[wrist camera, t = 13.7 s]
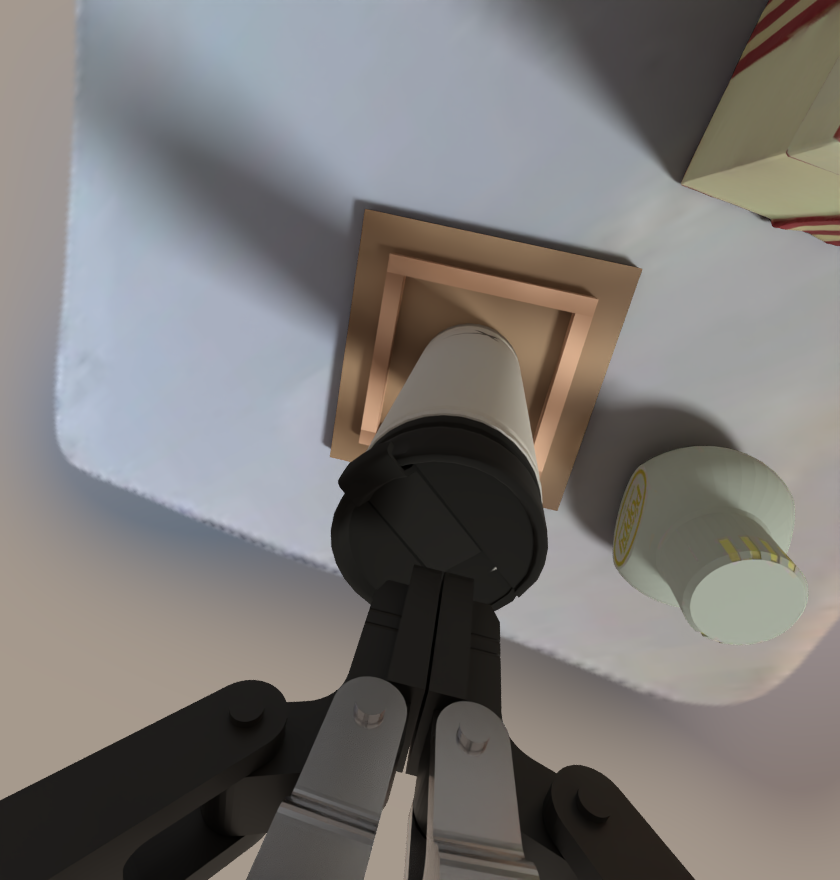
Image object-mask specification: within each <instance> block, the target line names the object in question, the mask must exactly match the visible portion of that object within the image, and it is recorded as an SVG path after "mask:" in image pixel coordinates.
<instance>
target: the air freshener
mask: <svg viewBox="0 0 840 880" xmlns="http://www.w3.org/2000/svg"><path fill="white" fill-rule="evenodd" d="M794 521H795V506H794V501H793V498H792V495H791V493H790V492H789V490H788V488H787V486H786V485H785V483H784V482H783V481H782V480H781V479H780V477H779V476H778V475H777V474H776V473H775V472H774V471H773V470H772V469H770V468H769V467H768V466H766V465H765V464H764V463H763V462H761V461H759V460H757V459H755V458H753V457H751V456H749V455H748V454H745V453H742V452H739V451H736V450H733V449H729V448H723V447H716V446H693V447H685V448H680V449H676V450H673V451H669V452H665V453H663V454H661V455H659V456H656V457H654V458H652V459H650V460H649V461H647V462H645V463H644V464H642V465H640V466H639V467H638V468H637V469H636V470H635V472H634V473H633V475H632V476H631V478H630V480H629V482H628V485H627V487H626V490H625V492H624V495H623V498H622V501H621V504H620V508H619V512H618V516H617V520H616V526H615V531H614V539H613V561H614V565H615V567H616V569H617V570H618V572H619V573H620V574H621V576H622V577H623V578H624V579H625V580H626V581H627V582H628V583H629V584H630V585H631V586H632V587H634V588H635V589H637V590H638V591H639V592H641V593H642V594H644V595H646V596H648V597H650V598H652V599H654V600H656V601H658V602H661V603H664V604H667V605H671V606H675V607H680V608H681V610H682V612H683V614H684V616H685V618H686V620H687V621H688V623H689V624H690V626H691V627H692V628H693V629H694V630H695V631H697V632H701V634H702V636H703V637H706V638H708V639H710V640H716V641H719V643H723V644H729V645H751V644H757V643H761V642H764V641H768V640H770V639H773V638H775V637H777V636H779V635H780V634H782V633H784V632H785V631H786V630H788V629H789V628H790V627H791V626H792V625H793V624H794V623H795V622H796V621H797V620H798V619H799V617H800V616H801V614H802V613H803V611H804V609H805V607H806V604H807V600H808V585H807V582H806V579H805V577H804V575H803V574H802V572H801V571H800V570H799V568H798V567H797V566H796V565H795V564H794V563H793V562H792V560H791V559H790V558H789V557H788V556H787V555H786V554H787V552H788V549H789V545H790V542H791V539H792V534H793V529H794Z"/></svg>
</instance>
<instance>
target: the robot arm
mask: <svg viewBox="0 0 840 880" xmlns="http://www.w3.org/2000/svg"><path fill="white" fill-rule="evenodd" d="M441 579H442V582H441ZM440 585H441V586H440ZM473 589H474V579H473V578H469V577H465V576H461V575H456V574H452V573H448V572H444V575H443V578H442V571H440V570H436V569H431V568H427V567H423V566H419V565H415V564H414V566H413V570H412V575H411V579H410V583H409V585H407V584H403V583H399V582H395V581H391V580H387V581H386V582H385V583H384V584H383V585H382V586H381V587H380V588H379V589H377V590H376V591H375V593H374V597H373V600H372V603H371V606H370V610H369V612H368V615H367V618H366V621H365V625H364V628H363V631H362V634H361V637H360V640H359V643H358V646H357V649H356V652H355V656H354V658H353V661H352V665H351V668H350V671H349V674H348V676H347V678H346V680H345V682H344V683H343V685H342V686H341V687H340V688H339V689H338V690H336V691H335V692H334V693H332V694H330V695H329V696H327V697H324V698H322V699H318V700H314V701H303V702H286V700H285V698H284V696H283V694H282V693H281V692H280V691H279V690H278V689H277V688H276V687H274V686H273V685H271V684H269V683H266V682H263V681H257V680H245V681H240V682H236V683H233V684H231V685H228V686H226V687H225V688H222V689H221V690H218V691H216V692H215V693H213V694H211V695H209V696H207V697H205V698H203V699H201V700H199V701H197V702H195V703H193V704H191V705H189V706H187V707H185V708H183V709H181V710H179V711H177V712H175V713H173V714H171V715H169V716H167V717H165V718H163V719H161V720H159V721H157V722H155V723H153V724H151V725H149V726H147V727H145V728H143V729H141V730H139V731H137V732H135V733H133V734H131V735H129V736H127V737H125V738H123V739H121V740H119V741H117V742H115V743H113V744H112V745H109V746H107V747H105V748H103V749H101V750H99V751H97V752H95V753H93V754H92V755H89V756H88V757H86V758H84V759H82V760H80V761H78V762H76V763H74V764H72V765H70V766H68V767H66V768H64V769H62V770H60V771H58V772H56V773H54V774H52V775H50V776H48V777H46V778H44V779H42V780H40V781H38V782H36V783H34V784H32V785H30V786H28V787H26V788H24V789H22V790H20V791H18V792H16V793H14V794H12V795H10V796H8V797H6V798H4V799H2V800H0V880H208V879H209V878H211V877H212V876H213V875H215V874H216V873H217V872H218V871H220V870H221V869H223V868H224V867H225V866H227V865H228V864H229V863H230V862H232V861H233V860H234V859H236V858H237V857H238V856H240V855H241V854H242V853H243V852H245V851H246V850H248V849H249V848H250V847H252V846H253V845H254V844H256V843H257V842H258V841H259V840H260V839H261V838H262V837H263V836H264V835H265V834H266V833H267V834H266V837H265V839H264V841H263V843H262V845H261V848H260V850H259V852H258V855H257V857H256V859H255V861H254V863H253V865H252V868H251V870H250V872H249V874H248V877H247V879H246V880H364V876H365V872H366V868H367V865H368V861H369V857H370V853H371V850H372V846H373V842H374V838H375V835H376V831H377V827H378V823H379V820H380V816H381V812H382V810H383V808H384V807H385V806H386V803H387V801H388V799H389V795H390V791H391V788H392V784H393V780H394V777H395V773H396V771H398V772H403V768H404V765H405V761H406V757H407V754H408V749H409V747H410V749H409V755H408V761H407V767H406V774H410V775H414V776H417V780H416V787H415V794H414V799H413V803H412V806H411V809H410V813H409V818H408V829H407V842H406V857H405V870H404V880H695V879H694V878H693V877H692V875H691V874H690V873H689V872H688V871H687V870H686V868H685V867H684V866H683V865H682V864H681V862H680V861H679V860H678V859H677V857H676V856H675V855H674V854H673V853H672V852H671V850H670V849H669V848H668V847H667V846H666V844H665V843H664V842H663V841H662V840H661V838H660V837H659V836H658V835H657V834H656V833H655V831H654V830H653V829H652V828H651V826H650V825H649V824H648V823H647V822H646V820H645V819H644V818H643V817H642V816H641V815H640V813H639V812H638V811H637V810H636V809H635V807H634V806H633V805H632V804H631V803H630V801H629V800H628V799H627V798H626V797H625V795H624V794H623V793H622V792H621V791H620V790H619V788H618V787H617V786H616V785H615V784H614V783H613V782H612V781H611V780H610V779H608V778H607V777H606V776H604V775H603V774H602V773H600V772H598V771H596V770H594V769H592V768H589V767H586V766H582V765H571V766H567V767H564V768H562V769H561V770H560V771H559V772H558V773H555V772H553V771H552V770H550V769H548V768H547V767H545V766H543V765H542V764H540V763H538V762H536V761H535V760H533V759H531V758H530V757H529V756H527V755H526V754H525V753H523V752H522V751H521V750H520V749H519V748H518V747H517V746H516V745H515V744H514V742H513V741H512V740H511V738H510V737H509V734H508V731H507V729H506V727H505V725H504V724H503V721H502V714H501V664H500V622H499V620H498V618H497V616H496V614H495V612H494V610H493V608H492V606H491V605H489V604H485V603H481V602H477V601H473Z"/></svg>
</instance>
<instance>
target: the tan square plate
mask: <svg viewBox="0 0 840 880" xmlns="http://www.w3.org/2000/svg"><path fill="white" fill-rule="evenodd" d="M641 272H642V269H641V268H637V267H633V266H628V265H624V264H619V263H614V262H610V261H605V260H600V259H596V258H591V257H586V256H582V255H577V254H573V253H568V252H563V251H559V250H554V249H549V248H545V247H540V246H536V245H531V244H526V243H522V242H517V241H512V240H508V239H503V238H499V237H494V236H489V235H485V234H480V233H475V232H471V231H466V230H461V229H457V228H452V227H448V226H443V225H438V224H434V223H429V222H424V221H420V220H415V219H411V218H406V217H401V216H397V215H392V214H387V213H383V212H378V211H374V210H369V209H365V212H364V219H363V226H362V233H361V240H360V248H359V255H358V262H357V269H356V276H355V283H354V290H353V297H352V304H351V311H350V318H349V325H348V333H347V340H346V347H345V354H344V361H343V368H342V375H341V382H340V389H339V396H338V403H337V410H336V418H335V425H334V432H333V439H332V446H331V453H330V457H332V458H336V459H341V460H345V461H349V462H352V461H353V460H354V459H356V458H357V457H359V456H360V455H361V454H363V453H364V452H366V450H367V449H368V447H369V446H370V444H371V442H372V440H373V438H374V437H375V435H376V433H377V431H378V430H379V428H380V426H381V424H382V423H383V421H384V419H385V417H386V416H387V414H388V412H389V410H390V409H391V407H392V405H393V403H394V402H395V400H396V398H397V397H398V395H399V393H400V391H401V390H402V388H403V386H404V384H405V383H406V381H407V379H408V377H409V376H410V374H411V372H412V370H413V369H414V367H415V365H416V363H417V362H418V360H419V358H420V356H421V355H422V353H423V351H424V350H425V348H426V346H427V345H428V344H429V342H430V341H431V340H432V339H433V338H434V337H435V336H436V335H437V334H438V333H440V332H441V331H443V330H445V329H447V328H449V327H452V326H455V325H458V324H466V323H472V324H480V325H484V326H487V327H490V328H492V329H494V330H496V331H498V332H499V333H500V334H501V335H502V336H504V337H505V338H506V339H507V340H508V342H509V343H510V344H511V345H512V347H513V349H514V351H515V353H516V355H517V358H518V362H519V366H520V371H521V377H522V382H523V388H524V393H525V399H526V405H527V410H528V416H529V421H530V427H531V432H532V438H533V443H534V449H535V454H536V460H537V466H538V471H539V477H540V483H541V488H542V504H543V508H547V509H551V510H555V511H557V510H558V507H559V505H560V502H561V499H562V496H563V493H564V490H565V488H566V485H567V482H568V479H569V476H570V473H571V471H572V468H573V465H574V462H575V459H576V456H577V453H578V451H579V448H580V445H581V442H582V439H583V436H584V434H585V431H586V428H587V425H588V422H589V419H590V417H591V414H592V411H593V408H594V405H595V402H596V400H597V397H598V394H599V391H600V388H601V385H602V382H603V380H604V377H605V374H606V371H607V368H608V365H609V363H610V360H611V357H612V354H613V351H614V348H615V346H616V343H617V340H618V337H619V334H620V331H621V329H622V326H623V323H624V320H625V317H626V314H627V312H628V309H629V306H630V303H631V300H632V297H633V294H634V292H635V289H636V286H637V283H638V280H639V277H640V275H641Z"/></svg>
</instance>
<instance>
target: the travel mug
mask: <svg viewBox="0 0 840 880" xmlns="http://www.w3.org/2000/svg"><path fill="white" fill-rule="evenodd" d="M338 484H339V486H340V488H341V489H342V490H343V492H344V493H345V494H344V495H343V497H342V499H341V500H340V503H339V505H338V507H337V509H336V511H335V513H334V517H333V522H332V527H331V547H332V551H333V554H334V558H335V561H336V564H337V566H338V568H339V570H340V571H341V573H342V575H343V577H344V579H345V580H346V581H347V582H348V584H349V585H350V586H351V587H352V588H353V589H354V591H355V592H356V593H357V594H359V595H360V596H361V597H362V598H363V599H365V600H366V601H367V602H368V603H369V604H371V603H372V600H373V597H374V593H375V591H376V590H377V589H379V588H380V587H381V586H382V585H383V584H384V583H385V582H386V581H387V580H391V581H395V582H399V583H403V584H407V585H409V583H410V579H411V575H412V570H413V566H414V564H415V565H419V566H423V567H427V568H431V569H436V570H440V571H442V578H443V575H444V572H448V573H452V574H456V575H461V576H465V577H469V578H473V579H474V589H473V601H477V602H481V603H485V604H489V605H491V606H492V608H493V610H494V611H496V610H498V609H500V608H502V607H503V606H505V605H507V604H508V603H510V602H512V601H513V600H514V599H515V597H516V596H518V597H520V596H521V595H522V594H523V593H524V592H525V591H526V590H527V589H528V588H529V587H531V586H532V585H533V584H534V583H535V582H536V581H537V580H538V578H539V575H540V573H541V571H542V569H543V567H544V565H545V560H546V555H547V550H548V538H547V527H546V521H545V516H544V510H543V504H542V488H541V483H540V477H539V471H538V466H537V460H536V454H535V449H534V443H533V438H532V432H531V427H530V421H529V416H528V410H527V405H526V399H525V393H524V388H523V382H522V377H521V371H520V366H519V362H518V358H517V355H516V353H515V351H514V349H513V347H512V345H511V344H510V343H509V342H508V340H507V339H506V338H505V337H504V336H502V335H501V334H500V333H499V332H498V331H496V330H494V329H492V328H490V327H487V326H484V325H480V324H472V323H466V324H458V325H455V326H452V327H449V328H447V329H445V330H443V331H441V332H440V333H438V334H437V335H436V336H435V337H434V338H433V339H432V340H431V341H430V342H429V344H428V345H427V346H426V348H425V350H424V351H423V353H422V355H421V356H420V358H419V360H418V362H417V363H416V365H415V367H414V369H413V370H412V372H411V374H410V376H409V377H408V379H407V381H406V383H405V384H404V386H403V388H402V390H401V391H400V393H399V395H398V397H397V398H396V400H395V402H394V403H393V405H392V407H391V409H390V410H389V412H388V414H387V416H386V417H385V419H384V421H383V423H382V424H381V426H380V428H379V430H378V431H377V433H376V435H375V437H374V438H373V440H372V442H371V444H370V446H369V447H368V449H367V450H366V452H364V453H363V454H361V455H360V456H359V457H357V458H356V459H354V460H353V461H352V462H350V463H349V464H348V466H347V467H346V469H345V470H344V471H343V473H342V475H341V477H340V478H339V480H338ZM441 582H442V579H441ZM440 586H441V585H440Z"/></svg>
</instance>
